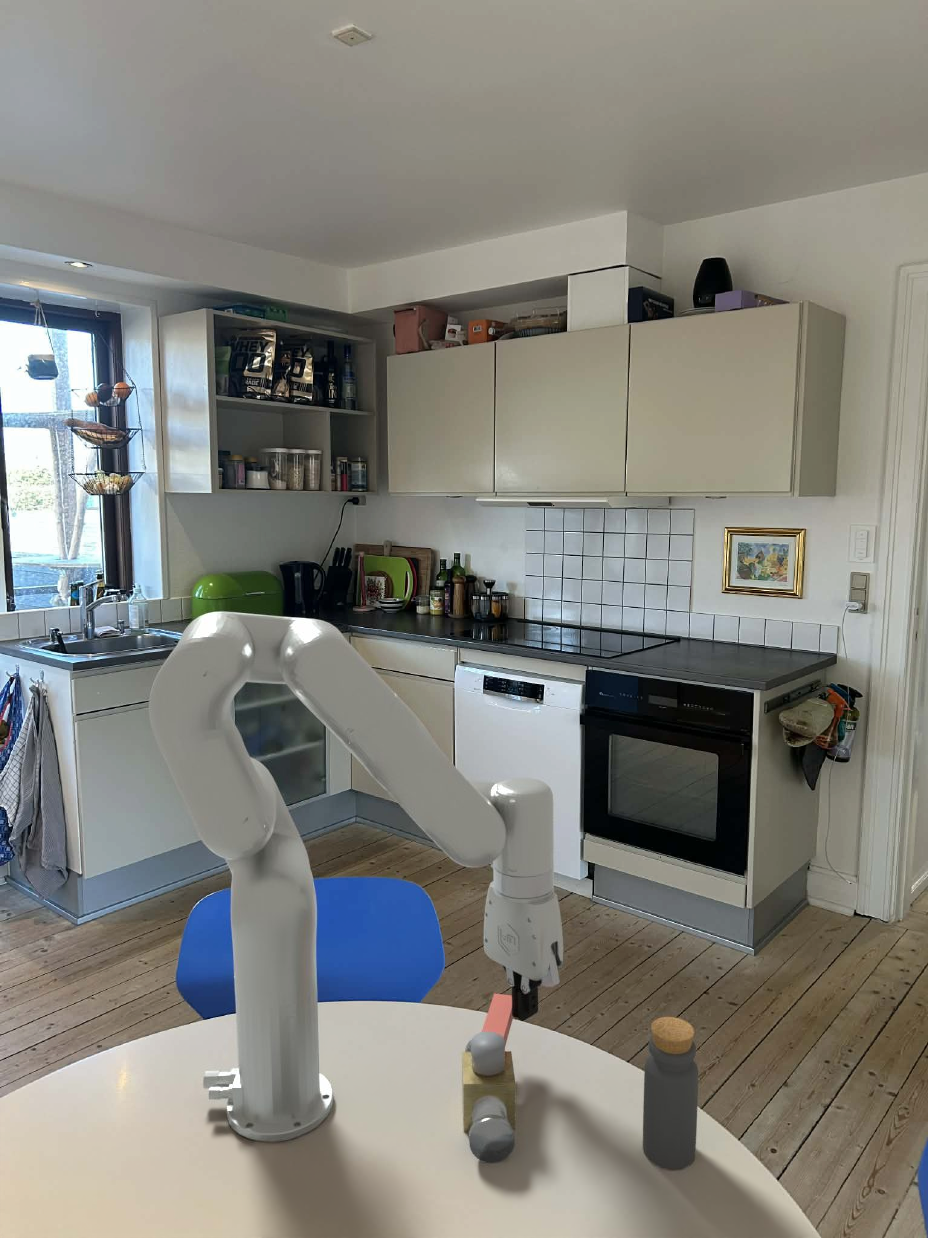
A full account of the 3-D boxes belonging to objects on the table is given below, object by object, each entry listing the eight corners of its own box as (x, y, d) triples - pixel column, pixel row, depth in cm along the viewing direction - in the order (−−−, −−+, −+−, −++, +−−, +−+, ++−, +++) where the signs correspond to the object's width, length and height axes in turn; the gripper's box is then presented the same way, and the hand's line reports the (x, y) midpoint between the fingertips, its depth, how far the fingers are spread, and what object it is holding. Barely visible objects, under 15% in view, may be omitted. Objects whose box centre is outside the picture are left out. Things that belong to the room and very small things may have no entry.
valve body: (464, 1163, 101) (464, 1114, 100) (461, 1071, 117) (460, 1028, 116) (519, 1162, 101) (519, 1113, 100) (507, 1070, 117) (507, 1027, 116)
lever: (501, 1077, 106) (501, 1054, 105) (468, 1073, 107) (468, 1049, 106) (519, 1010, 119) (519, 989, 119) (489, 1007, 120) (489, 986, 120)
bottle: (682, 1179, 99) (686, 1051, 97) (633, 1155, 102) (636, 1031, 100) (703, 1148, 103) (708, 1025, 101) (656, 1126, 107) (659, 1007, 105)
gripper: (460, 870, 117) (463, 1003, 119) (548, 908, 106) (549, 1053, 109) (502, 853, 122) (504, 981, 125) (589, 887, 111) (589, 1027, 114)
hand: (525, 1014), depth 117 cm, fingers closed
